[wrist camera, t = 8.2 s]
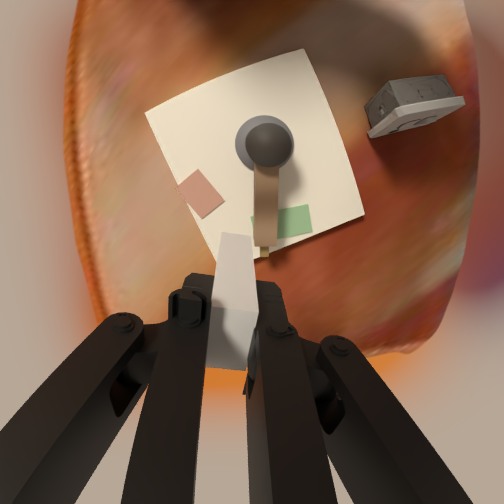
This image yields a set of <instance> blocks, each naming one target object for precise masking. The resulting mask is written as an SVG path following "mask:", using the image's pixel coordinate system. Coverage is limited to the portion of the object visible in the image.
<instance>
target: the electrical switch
mask: <svg viewBox="0 0 504 504" xmlns="http://www.w3.org/2000/svg"><path fill="white" fill-rule="evenodd" d="M435 78H436V79H435ZM388 82H389V83H388ZM388 82H387V83H386V84H385V85H384V86H383V87H382V88H381V89H380V90H379V91H378V92H377V93H376V95H375V96H374V97H373V98H372V99H371V100H370V101H369V102H368V103H367V104H366V105H365V106H364V108H365V111H366V113H367V115H368V118H369V122H370V124H371V127H372V129H370V130H368V131H367V133H368V135H369V137H370V138H376V137H380V136H383V135H387V134H391V133H395V132H399V131H403V130H407V129H411V128H415V127H419V126H424V125H427V124H430V123H432V122H436V120H438V119H440V118H442V117H444V116H446V115H448V114H450V113H452V112H453V111H455V110H457V109H459V108H460V107H462V106H464V105H465V104H466V103H465V101H464V98H463V96H459V97H456V95H455V94H454V91H453V89H452V87H451V86H450V85H449V83H448V81H447V79H446V77H445V75H444V74H439V75H429V76H420V77H412V78H404V79H397V80H391V81H388ZM399 83H400V84H399ZM389 84H390V85H389ZM390 86H391V87H390Z"/></svg>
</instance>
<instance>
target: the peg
mask: <svg viewBox="0 0 504 504" xmlns="http://www.w3.org/2000/svg"><path fill="white" fill-rule="evenodd" d="M245 148H246V151H247V153H248V155H249V157H250V158H251V159H252V161H254V208H253V239H254V246H255V247H260V257H269V246H277V223H278V192H279V165H280V164H282V163H283V162H285V161H286V159H287V158H288V157H289V155H290V153H291V149H292V142H291V138H290V136H289V134H288V132H287V131H286V130H285V129H284V128H283V127H281V126H279V125H277V124H274V123H263V124H260V125H258V126H256V127H254V128H253V129H251V130H250V131H249V133H248V134H247V136H246V139H245Z"/></svg>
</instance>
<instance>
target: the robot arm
mask: <svg viewBox="0 0 504 504" xmlns="http://www.w3.org/2000/svg"><path fill="white" fill-rule="evenodd" d="M247 365H248V373H247V377H246V382H245V386H244V390H243V395H245V394H246V415H247V443H248V444H247V445H248V468H249V469H248V471H249V495H250V504H338V502H337V498H336V493H335V488H334V483H333V479H332V474H331V469H330V465H329V460H328V456H329V458H330V460H331V462H332V463H333V466H334V468H335V470H336V471H337V473H338V475H339V477H340V479H341V480H342V483H343V484H344V486H345V488H346V490H347V492H348V494H349V495H350V497H351V499H352V501H353V503H354V504H473V503H472V501H471V500H470V498H469V497H468V496H467V494H466V492H465V491H464V490H463V488H462V487H461V485H460V484H459V483H458V481H457V480H456V479H455V477H454V476H453V475H452V473H451V471H450V470H449V469H448V467H447V466H446V465H445V463H444V462H443V460H442V459H441V458H440V456H439V455H438V454H437V452H436V451H435V449H434V448H433V446H432V445H431V444H430V442H429V441H428V440H427V438H426V437H425V436H424V434H423V433H422V431H421V430H420V429H419V427H418V426H417V425H416V424H415V422H414V421H413V419H412V418H411V417H410V415H409V414H408V413H407V411H406V410H405V409H404V408H403V406H402V405H401V403H400V402H399V401H398V400H397V398H396V397H395V396H394V394H393V393H392V392H391V390H390V389H389V388H388V387H387V385H386V384H385V382H384V381H383V380H382V379H381V377H380V376H379V375H378V373H377V372H376V371H375V370H374V368H373V367H372V366H371V364H370V363H369V362H368V361H367V359H366V358H365V357H364V355H363V354H362V353H361V352H360V350H359V349H358V348H357V346H356V345H355V344H354V343H353V342H351V341H350V340H348V339H346V338H344V337H341V336H327V337H325V338H324V339H323V340H322V341H321V343H320V344H319V343H315V342H311V341H308V340H305V339H303V338H301V337H299V336H298V332H297V330H296V329H295V327H294V326H292V325H291V324H290V323H289V322H288V318H287V314H286V309H285V305H284V301H283V298H282V293H281V289H280V288H279V287H278V286H277V285H276V284H275V282H267V281H259V280H255V270H254V260H253V250H252V241H251V236H249V235H241V234H234V233H227V232H222V234H221V240H220V246H219V252H218V258H217V265H216V271H215V276H213V275H205V274H198V273H191V274H190V275H188V276H187V277H186V278H185V280H184V283H183V286H182V289H177V290H175V291H174V292H172V293H171V294H170V295H169V303H168V320H167V321H165V322H162V323H158V324H145V325H143V321H142V320H141V319H140V317H138V316H136V315H135V314H131V313H127V312H123V313H116V314H112V315H110V316H109V317H107V318H106V319H105V320H104V321H103V322H102V323H101V324H100V325H99V326H98V327H97V328H96V329H95V330H94V331H93V332H92V333H91V334H90V335H89V336H88V337H87V338H86V339H85V340H84V341H83V342H82V343H81V344H80V345H79V346H78V347H77V348H76V349H75V350H74V351H73V352H72V353H71V354H70V355H69V356H68V357H67V358H66V359H65V360H64V361H63V362H62V363H61V365H59V367H58V368H57V369H56V370H55V371H54V372H53V373H52V374H51V375H50V376H49V377H48V378H47V379H46V380H45V381H44V382H43V383H42V385H41V386H40V387H39V388H38V389H37V390H36V391H35V392H34V393H33V394H32V395H31V397H30V398H29V399H28V400H27V401H26V402H25V403H24V404H23V406H22V407H21V408H20V409H19V410H18V411H17V412H16V414H15V415H14V416H13V417H12V418H11V419H10V420H9V422H8V423H7V424H6V425H5V426H4V427H3V429H2V430H1V431H0V504H74V503H75V502H76V500H77V499H78V497H79V495H80V494H81V492H82V490H83V489H84V487H85V486H86V484H87V482H88V481H89V479H90V477H91V476H92V474H93V472H94V471H95V469H96V468H97V466H98V464H99V463H100V461H101V459H102V458H103V456H104V455H105V453H106V451H107V450H108V448H109V447H110V445H111V443H112V442H113V440H114V439H115V437H116V435H117V434H118V432H119V430H120V429H121V427H122V426H123V424H124V423H125V421H126V420H127V418H128V416H129V415H130V413H131V412H132V410H133V408H134V407H135V405H136V404H137V402H138V400H139V399H140V397H141V396H142V394H143V393H144V391H145V389H146V388H147V386H148V389H147V392H146V395H145V399H144V403H143V407H142V411H141V414H140V418H139V423H138V427H137V431H136V435H135V439H134V443H133V448H132V452H131V456H130V461H129V465H128V470H127V474H126V479H125V484H124V489H123V494H122V499H121V504H194V496H195V494H194V493H195V480H196V465H197V452H198V440H199V428H200V417H201V406H202V396H203V386H204V374H205V367H213V368H222V369H231V370H242V371H245V370H246V367H247ZM327 454H328V456H327Z"/></svg>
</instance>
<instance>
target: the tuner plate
mask: <svg viewBox="0 0 504 504" xmlns="http://www.w3.org/2000/svg"><path fill="white" fill-rule="evenodd" d="M145 115H146V117H147V119H148V121H149V124H150V126H151V128H152V130H153V132H154V135H155V137H156V139H157V141H158V143H159V146H160V148H161V150H162V152H163V154H164V156H165V158H166V161H167V163H168V165H169V167H170V169H171V171H172V173H173V175H174V177H175V180H176V182H177V184H178V186H177V187H176V188H175V189H176V190H177V191H178V192H179V194H180V195H181V196H182V197H183V198H184V199H185V200H186V202H187V204H188V206H189V208H190V210H191V212H192V214H193V216H194V219H195V221H196V223H197V225H198V227H199V229H200V231H201V233H202V234H203V236H204V238H205V240H206V242H207V244H208V246H209V248H210V250H211V252H212V254H213V256H214V258H215V260H216V262H217V258H218V252H219V246H220V240H221V234H222V232H227V233H234V234H241V235H249V236H251V241H252V250H253V259H256V258H258V257H260V247H255V246H254V239H253V208H254V161H252V159H251V158H250V157H249V155H248V153H247V151H246V148H245V139H246V136H247V134H248V133H249V131H250V130H251V129H253V128H254V127H256V126H258V125H260V124H263V123H274V124H277V125H279V126H281V127H283V128H284V129H285V130H286V131H287V132H288V134H289V136H290V138H291V142H292V149H291V153H290V155H289V157H288V158H287V159H286V161H285V162H283V163H282V164H280V165H279V192H278V223H277V246H269V253H271V252H273V251H276V250H278V249H281V248H283V247H286V246H288V245H291V244H293V243H296V242H298V241H301V240H303V239H306V238H308V237H310V236H313V235H315V234H318V233H320V232H323V231H325V230H328V229H330V228H333V227H335V226H338V225H340V224H343V223H345V222H348V221H350V220H352V219H355V218H357V217H360V216H362V215H365V213H364V209H363V206H362V202H361V199H360V195H359V192H358V188H357V185H356V182H355V178H354V175H353V172H352V169H351V166H350V162H349V159H348V156H347V153H346V150H345V148H344V145H343V142H342V139H341V136H340V133H339V131H338V128H337V125H336V123H335V120H334V117H333V115H332V112H331V110H330V107H329V105H328V102H327V100H326V97H325V95H324V92H323V90H322V88H321V85H320V83H319V81H318V78H317V76H316V74H315V72H314V69H313V67H312V65H311V63H310V61H309V59H308V56H307V54H306V52H305V50H304V48H303V49H299V50H296V51H292V52H289V53H285V54H282V55H279V56H275V57H272V58H269V59H266V60H263V61H260V62H257V63H254V64H251V65H249V66H246V67H243V68H240V69H238V70H235V71H232V72H230V73H227V74H225V75H222V76H220V77H218V78H215V79H213V80H210V81H208V82H206V83H203V84H201V85H199V86H197V87H195V88H192V89H190V90H188V91H186V92H184V93H182V94H180V95H178V96H176V97H174V98H172V99H170V100H168V101H166V102H164V103H162V104H160V105H158V106H156V107H154V108H153V109H151V110H149V111H147V112H145Z"/></svg>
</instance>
